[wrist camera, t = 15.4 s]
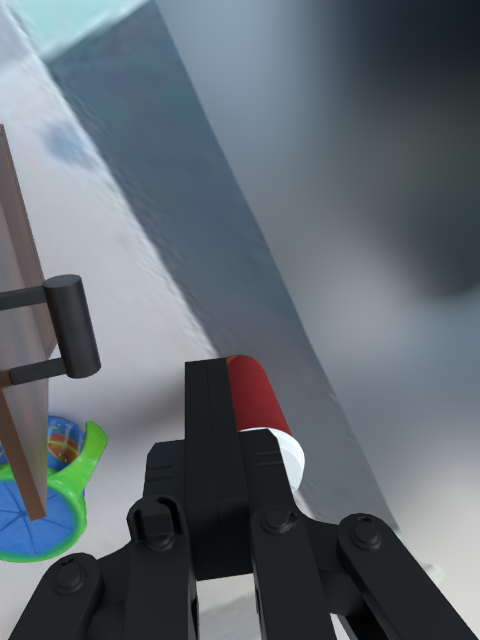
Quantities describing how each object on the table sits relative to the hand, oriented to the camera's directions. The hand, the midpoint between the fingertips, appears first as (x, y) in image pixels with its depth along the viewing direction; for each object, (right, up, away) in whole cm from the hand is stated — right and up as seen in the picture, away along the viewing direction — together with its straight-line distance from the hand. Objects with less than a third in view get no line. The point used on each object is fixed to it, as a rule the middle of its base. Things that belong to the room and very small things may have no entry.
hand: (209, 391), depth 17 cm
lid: (-13, +4, +9) cm, 17 cm away
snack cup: (-19, -10, +31) cm, 37 cm away
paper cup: (+1, -3, +30) cm, 30 cm away
